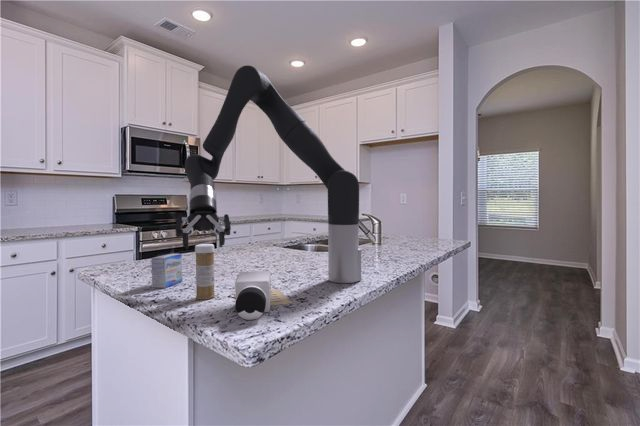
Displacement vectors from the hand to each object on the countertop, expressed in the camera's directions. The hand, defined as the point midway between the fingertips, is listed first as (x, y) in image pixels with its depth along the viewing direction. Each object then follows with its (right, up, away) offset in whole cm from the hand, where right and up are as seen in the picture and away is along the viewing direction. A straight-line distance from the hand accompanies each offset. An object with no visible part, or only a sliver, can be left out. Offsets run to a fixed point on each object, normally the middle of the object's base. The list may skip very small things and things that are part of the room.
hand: (204, 246), depth 87 cm
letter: (+16, -12, -6) cm, 21 cm away
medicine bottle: (+16, -8, -10) cm, 20 cm away
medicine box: (-14, -12, +9) cm, 20 cm away
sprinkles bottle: (+2, -13, -5) cm, 14 cm away
